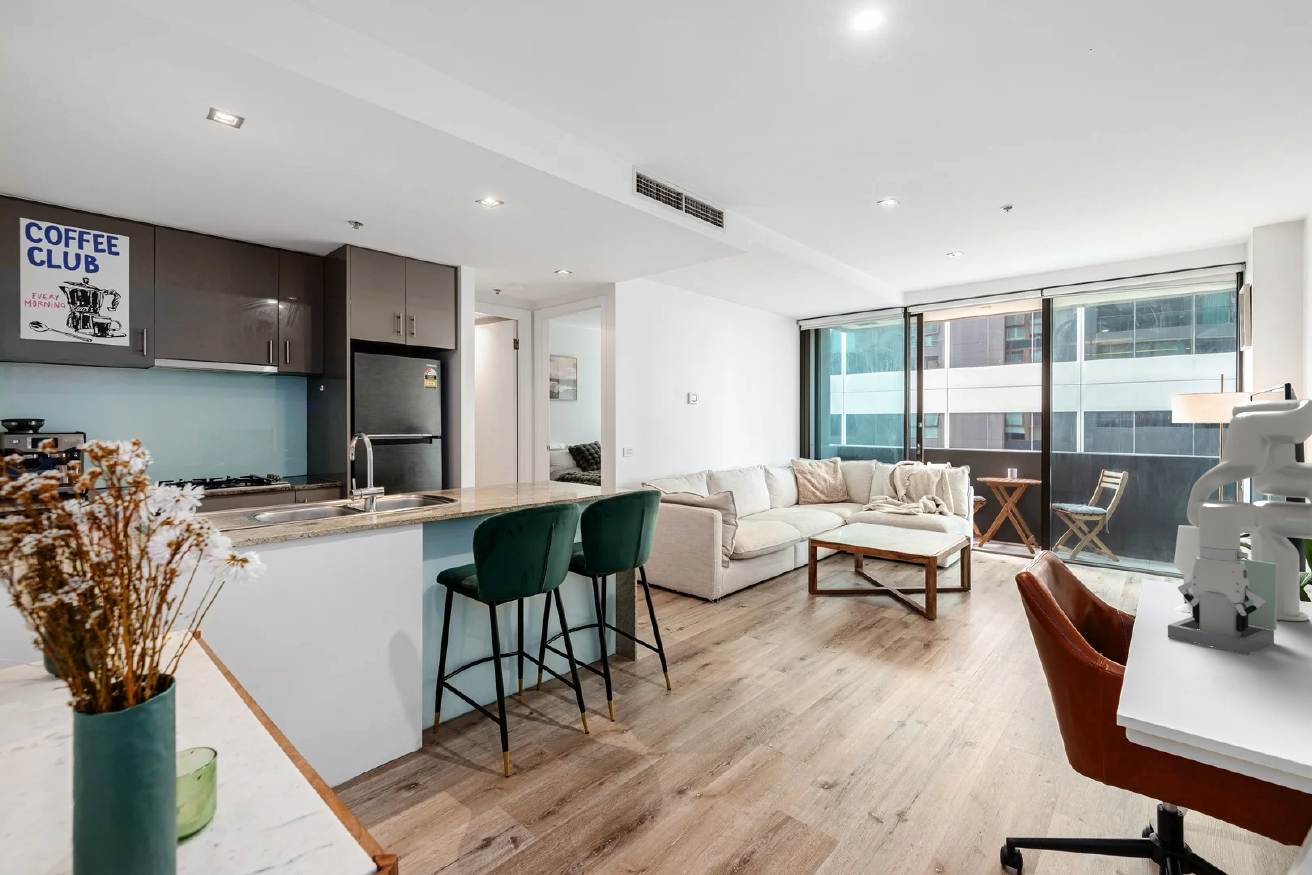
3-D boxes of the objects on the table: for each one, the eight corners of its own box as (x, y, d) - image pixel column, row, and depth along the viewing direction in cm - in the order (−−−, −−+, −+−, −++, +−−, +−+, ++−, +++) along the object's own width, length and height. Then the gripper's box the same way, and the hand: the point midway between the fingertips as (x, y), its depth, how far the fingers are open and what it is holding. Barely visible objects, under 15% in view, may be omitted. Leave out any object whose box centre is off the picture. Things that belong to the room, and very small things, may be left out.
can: (1242, 647, 148) (1242, 596, 148) (1200, 640, 152) (1200, 591, 152) (1238, 638, 154) (1238, 590, 154) (1198, 633, 158) (1198, 585, 158)
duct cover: (1196, 614, 164) (1199, 614, 164) (1274, 630, 150) (1276, 630, 151) (1199, 553, 164) (1201, 553, 165) (1276, 563, 151) (1278, 563, 152)
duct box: (1196, 626, 163) (1196, 615, 163) (1273, 642, 150) (1273, 630, 150) (1167, 636, 156) (1167, 624, 156) (1246, 655, 142) (1246, 641, 142)
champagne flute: (1202, 609, 179) (1202, 525, 179) (1207, 615, 173) (1207, 528, 173) (1172, 605, 183) (1172, 524, 182) (1176, 611, 177) (1176, 527, 177)
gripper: (1273, 558, 147) (1273, 633, 147) (1182, 547, 162) (1183, 615, 162) (1260, 562, 143) (1260, 638, 143) (1169, 550, 159) (1169, 619, 159)
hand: (1219, 625), depth 153 cm, fingers closed on can, 7 cm apart
